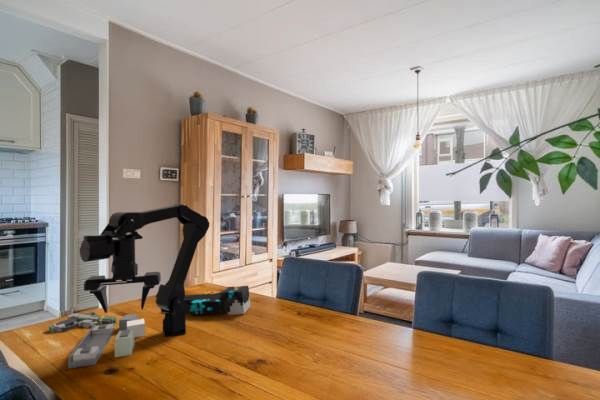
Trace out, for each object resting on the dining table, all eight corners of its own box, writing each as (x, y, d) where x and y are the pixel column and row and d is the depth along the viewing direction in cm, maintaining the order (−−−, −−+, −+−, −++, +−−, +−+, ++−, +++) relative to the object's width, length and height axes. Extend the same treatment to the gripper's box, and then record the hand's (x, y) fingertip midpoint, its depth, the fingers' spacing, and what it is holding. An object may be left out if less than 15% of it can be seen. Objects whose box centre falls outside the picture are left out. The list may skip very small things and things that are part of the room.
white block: (138, 325, 113) (138, 314, 113) (131, 331, 108) (131, 319, 108) (126, 326, 112) (126, 314, 112) (119, 332, 108) (119, 319, 107)
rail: (114, 332, 107) (114, 321, 107) (95, 364, 86) (94, 351, 86) (93, 334, 105) (93, 324, 105) (68, 368, 84) (68, 355, 84)
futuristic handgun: (88, 330, 103) (124, 313, 118) (41, 325, 108) (81, 309, 122) (89, 339, 103) (124, 320, 118) (41, 334, 108) (81, 316, 122)
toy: (181, 288, 138) (250, 283, 134) (182, 307, 138) (252, 303, 134) (160, 299, 123) (238, 294, 119) (162, 321, 123) (241, 317, 119)
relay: (144, 330, 109) (143, 318, 109) (144, 336, 104) (144, 323, 104) (127, 333, 106) (126, 321, 106) (127, 339, 102) (127, 326, 102)
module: (134, 346, 97) (134, 327, 97) (130, 355, 91) (130, 336, 91) (119, 348, 96) (119, 329, 96) (114, 357, 90) (114, 337, 90)
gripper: (162, 250, 104) (162, 299, 104) (94, 253, 98) (95, 305, 99) (158, 256, 93) (158, 310, 94) (82, 260, 88) (83, 318, 88)
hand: (124, 310), depth 94 cm, fingers open, 9 cm apart
